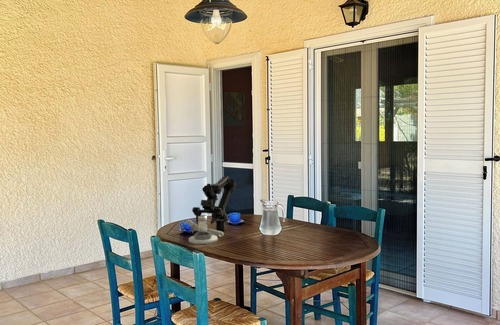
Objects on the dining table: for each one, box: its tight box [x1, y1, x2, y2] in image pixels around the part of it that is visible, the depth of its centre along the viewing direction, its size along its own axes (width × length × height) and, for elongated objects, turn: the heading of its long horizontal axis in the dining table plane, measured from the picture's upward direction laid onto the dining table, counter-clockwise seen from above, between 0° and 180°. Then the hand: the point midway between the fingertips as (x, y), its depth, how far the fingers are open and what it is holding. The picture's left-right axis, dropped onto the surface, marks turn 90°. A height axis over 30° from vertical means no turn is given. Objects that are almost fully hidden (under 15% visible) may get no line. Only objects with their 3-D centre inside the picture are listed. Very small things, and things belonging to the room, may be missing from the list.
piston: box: [198, 214, 208, 235], centre depth 271 cm, size 5×5×13 cm
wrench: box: [183, 219, 225, 238], centre depth 287 cm, size 8×2×30 cm
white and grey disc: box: [188, 231, 219, 245], centre depth 271 cm, size 17×17×4 cm
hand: (204, 223), depth 272 cm, fingers open, 9 cm apart
